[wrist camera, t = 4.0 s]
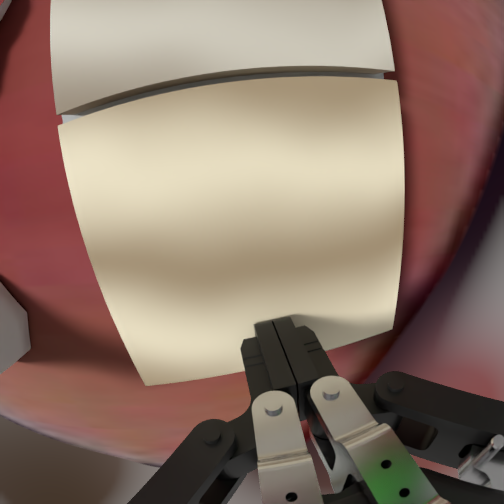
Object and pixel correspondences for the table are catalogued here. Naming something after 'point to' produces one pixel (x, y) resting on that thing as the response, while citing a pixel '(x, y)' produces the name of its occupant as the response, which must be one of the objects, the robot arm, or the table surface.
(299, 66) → the laid plank
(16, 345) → the flask
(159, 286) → the cream wavy square sheet
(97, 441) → the table surface
